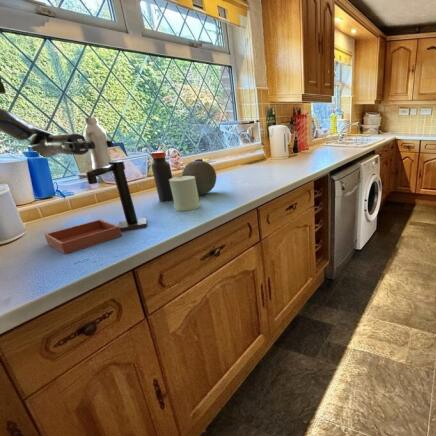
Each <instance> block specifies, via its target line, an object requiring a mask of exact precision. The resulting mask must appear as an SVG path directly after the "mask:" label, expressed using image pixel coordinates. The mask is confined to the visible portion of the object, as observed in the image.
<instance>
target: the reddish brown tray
mask: <svg viewBox="0 0 436 436" xmlns="http://www.w3.org/2000/svg"><path fill="white" fill-rule="evenodd" d="M44 237H45V240H46V242H47V245H48V246H51V247H52V248H54V249H56V250H57V251H59V252H60V253H62V254H64V255H67V254H70V253H73V252H76V251H80V250H84V249H86V248H89V247H92V246H95V245H98V244H101V243H105V242H107V241H112V240H114V239H117V238H120V237H123V235H122V231H120V227H119V226H118V225H116V224H114V223H111V222H108V221H106V220H103V219H95V220H92V221H89V222H85V223H82V224H78V225H74V226H70V227H67V228H63V229H59V230H54V231H52V232H48V233H44Z"/></svg>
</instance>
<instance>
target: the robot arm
mask: <svg viewBox="0 0 436 436" xmlns="http://www.w3.org/2000/svg"><path fill="white" fill-rule="evenodd" d="M0 131H1V133H2V132H3V133H4V134H6V135H8V136H10V137H11V138H13V139H15V140H18V141H26V140H28V139H30V141H29V142H28V143H27V145H26V149H27V150H28V147H32V149H33V151H37V152H39V153H40V155H41V156H43V157H46V158H45V159H47V158H48V159H49V158H52V157H54V156H55V157H56V156H57V155H61V154H63V155H70V156H71V155H74V156H82V155H86V154H87V153H89V152H90V150H89V149H94V146H93V143H92V142H86V141H85V139H84V137H83V134H81V133H56V134H55V133H54V132H52V131H50V130H46V129H44V128H41V127H38V126H36V125H34V124H31V123H30V122H27V121H26V120H24V119H23V118H21V117H20V116H18V115H16V114H15V113H13V112H11V111H9V110H7V109H4V108H1V107H0ZM107 145H108V148H113V147H114V142H113V140H110V139H109V138H107Z"/></svg>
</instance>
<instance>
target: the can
mask: <svg viewBox="0 0 436 436" xmlns="http://www.w3.org/2000/svg"><path fill="white" fill-rule="evenodd" d="M169 182H170V186H171V191H172V195H173V200H172V201H173V205H174V210H175V211H177V212H187V211H192V210H196V209H199V208H200V207H201V203H200V198H199V197H200V196H199V194H198V192H197V186H196V181H195V177H194V176H182V175H181V176H175V177H172V178H171V179H169Z"/></svg>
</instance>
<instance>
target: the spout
mask: <svg viewBox="0 0 436 436" xmlns="http://www.w3.org/2000/svg"><path fill="white" fill-rule="evenodd" d="M120 170H124V171H125V170H126V166H125V163H124V160H112V161H111V162H109V165H107V166H104V167H101V168H98V169H95V170H92V169H91V170H89V171H87V172H86V173H85V175H86V179H87V183H88V184H89V185H95V184H98V183H99V182H98V178H97V177H98V176H99V175H102V174H104V173H107V172H110V171H120ZM99 177H100V176H99Z"/></svg>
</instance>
